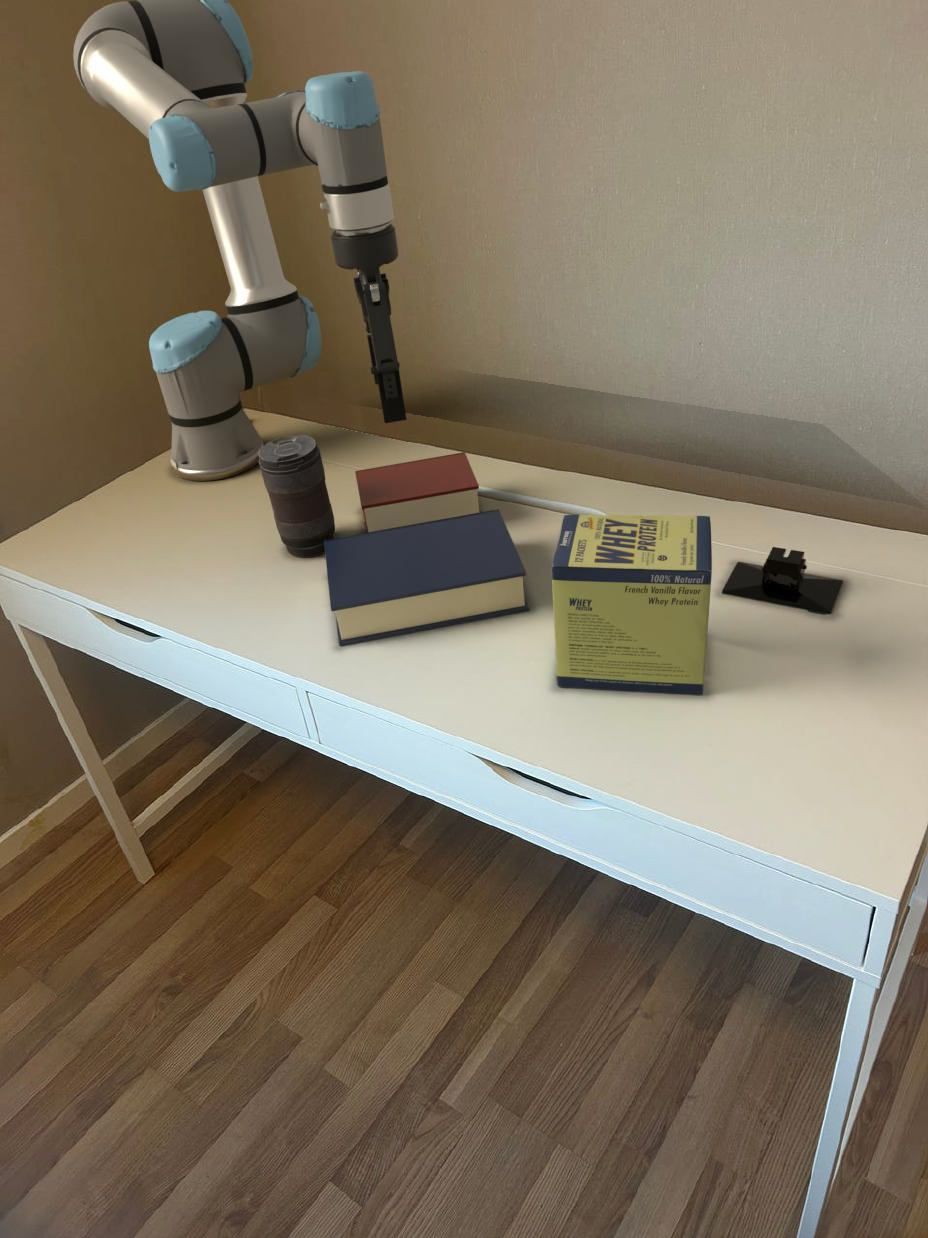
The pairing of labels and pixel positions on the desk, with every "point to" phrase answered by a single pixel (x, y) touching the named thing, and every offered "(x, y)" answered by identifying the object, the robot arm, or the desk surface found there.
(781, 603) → the build plate
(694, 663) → the protein box
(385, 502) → the dictionary
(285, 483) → the camera lens
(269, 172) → the robot arm
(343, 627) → the encyclopedia
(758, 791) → the desk surface
